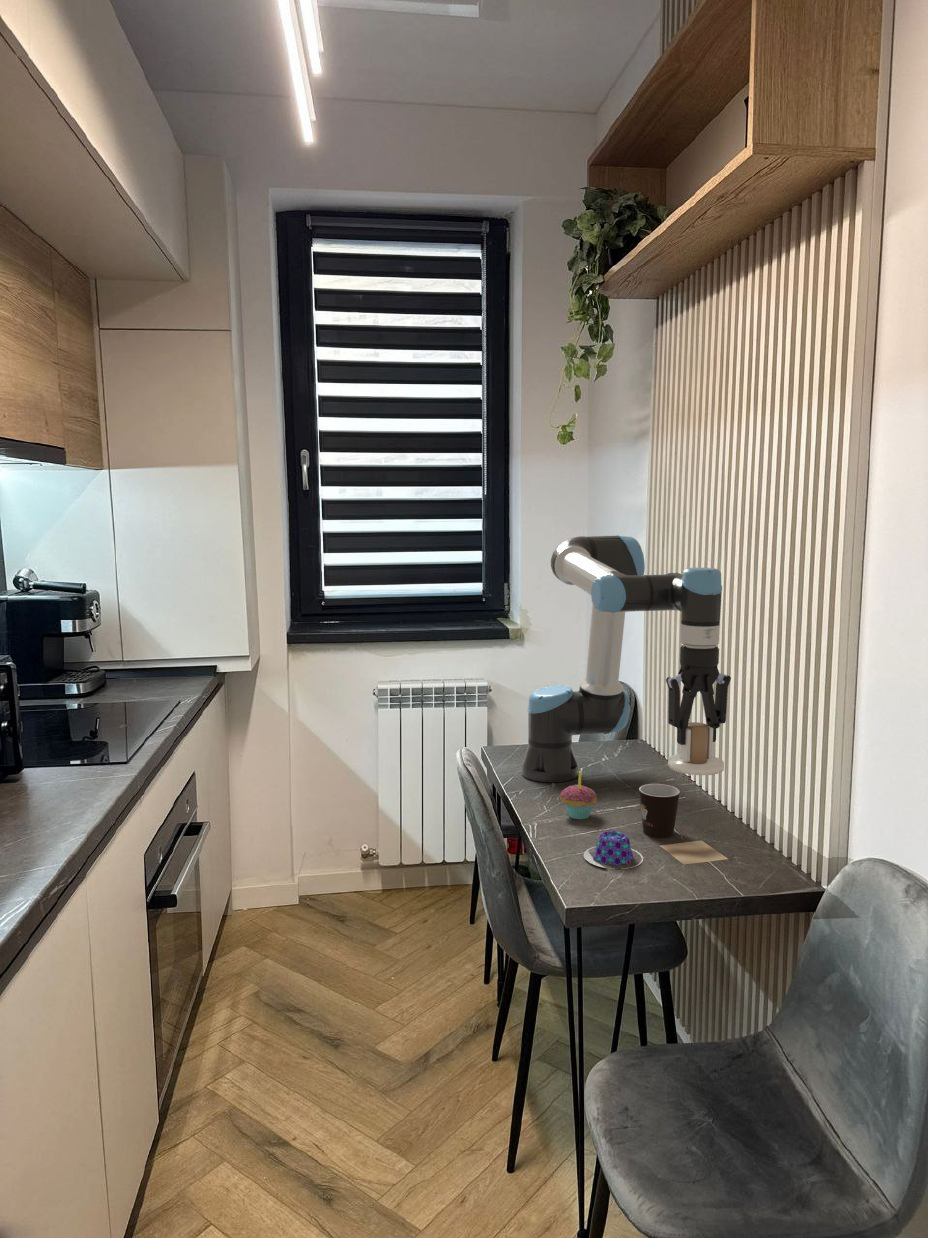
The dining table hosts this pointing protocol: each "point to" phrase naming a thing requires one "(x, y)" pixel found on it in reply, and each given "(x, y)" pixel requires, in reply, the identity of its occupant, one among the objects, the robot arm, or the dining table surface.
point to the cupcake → (578, 800)
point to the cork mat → (693, 852)
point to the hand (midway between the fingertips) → (695, 758)
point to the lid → (697, 754)
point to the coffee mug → (658, 809)
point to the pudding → (611, 850)
